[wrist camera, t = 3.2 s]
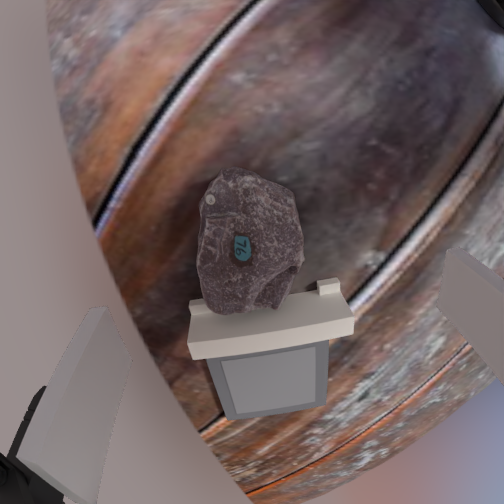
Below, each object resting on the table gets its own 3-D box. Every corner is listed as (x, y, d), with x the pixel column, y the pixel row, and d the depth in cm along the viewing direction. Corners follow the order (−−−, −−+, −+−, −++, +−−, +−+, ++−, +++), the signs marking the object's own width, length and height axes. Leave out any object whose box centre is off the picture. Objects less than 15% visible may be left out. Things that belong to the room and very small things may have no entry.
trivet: (203, 347, 30) (203, 352, 30) (327, 327, 31) (329, 333, 30) (227, 415, 36) (227, 421, 35) (324, 400, 36) (326, 405, 35)
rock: (297, 161, 23) (315, 175, 19) (293, 284, 28) (306, 315, 24) (191, 167, 22) (186, 182, 18) (205, 292, 27) (205, 325, 23)
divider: (189, 300, 28) (183, 333, 23) (336, 277, 28) (355, 306, 23) (199, 332, 30) (195, 367, 25) (336, 311, 30) (352, 342, 25)
